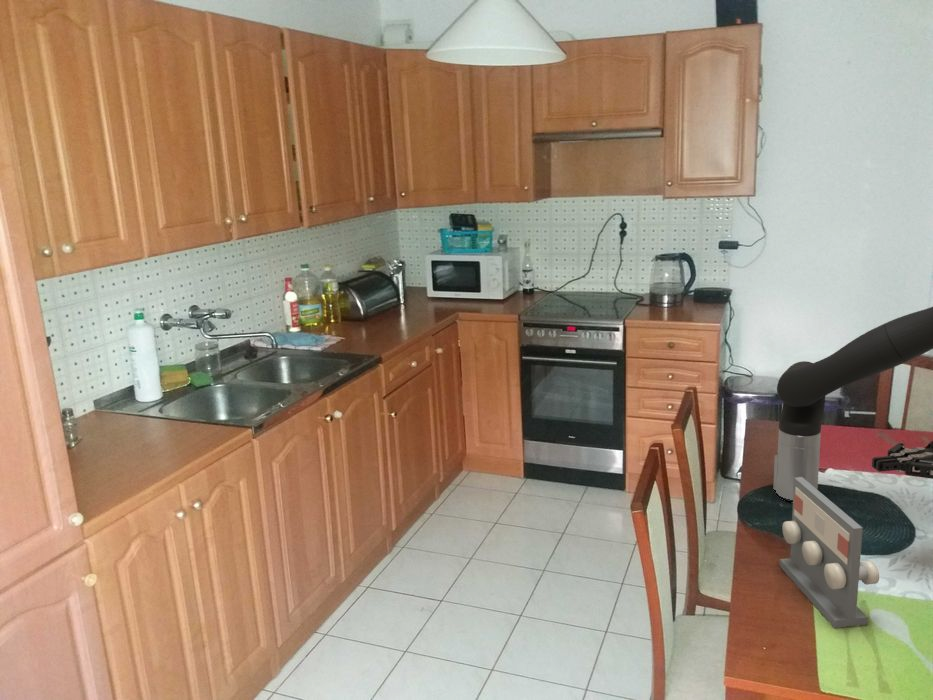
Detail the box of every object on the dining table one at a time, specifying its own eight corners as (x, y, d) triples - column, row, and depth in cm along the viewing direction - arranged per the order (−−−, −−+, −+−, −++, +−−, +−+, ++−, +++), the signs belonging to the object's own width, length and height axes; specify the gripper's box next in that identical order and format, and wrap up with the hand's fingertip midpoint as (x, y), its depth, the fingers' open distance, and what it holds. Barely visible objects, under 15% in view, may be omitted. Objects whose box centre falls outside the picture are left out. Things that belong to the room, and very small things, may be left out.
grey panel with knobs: (807, 563, 156) (812, 476, 151) (866, 625, 136) (875, 526, 131) (779, 566, 156) (783, 478, 151) (834, 628, 136) (841, 529, 131)
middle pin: (840, 553, 147) (842, 533, 145) (853, 565, 142) (855, 544, 141) (801, 557, 146) (802, 537, 145) (813, 569, 142) (814, 548, 141)
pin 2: (864, 576, 139) (866, 554, 138) (879, 589, 135) (880, 567, 133) (823, 580, 138) (824, 559, 137) (836, 594, 134) (838, 572, 133)
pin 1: (819, 533, 154) (820, 513, 153) (830, 544, 150) (832, 524, 149) (781, 537, 154) (782, 517, 153) (792, 548, 150) (793, 528, 148)
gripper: (938, 426, 155) (856, 434, 154) (986, 452, 142) (897, 460, 141) (935, 460, 157) (854, 468, 156) (982, 488, 144) (894, 497, 143)
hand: (875, 464), depth 149 cm, fingers closed
